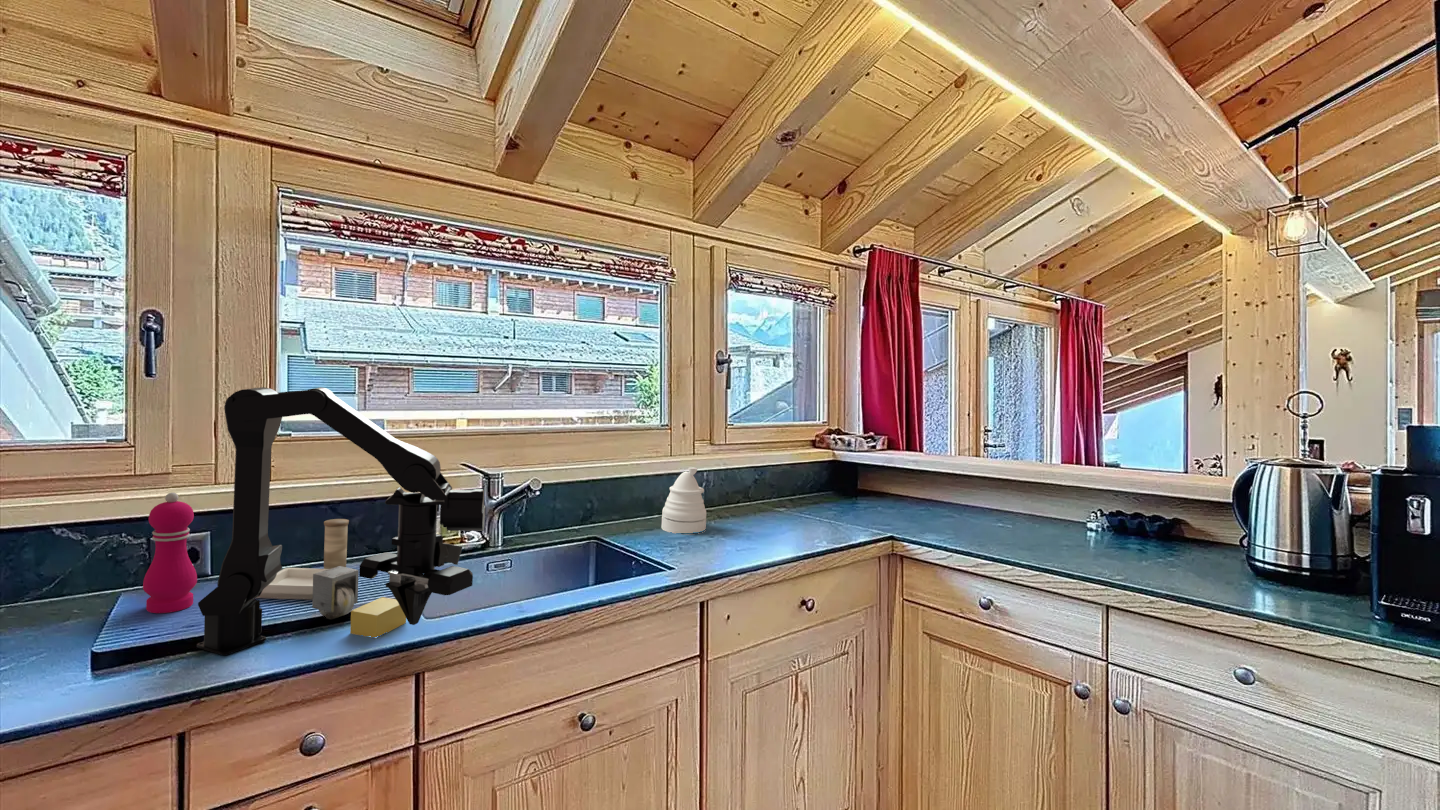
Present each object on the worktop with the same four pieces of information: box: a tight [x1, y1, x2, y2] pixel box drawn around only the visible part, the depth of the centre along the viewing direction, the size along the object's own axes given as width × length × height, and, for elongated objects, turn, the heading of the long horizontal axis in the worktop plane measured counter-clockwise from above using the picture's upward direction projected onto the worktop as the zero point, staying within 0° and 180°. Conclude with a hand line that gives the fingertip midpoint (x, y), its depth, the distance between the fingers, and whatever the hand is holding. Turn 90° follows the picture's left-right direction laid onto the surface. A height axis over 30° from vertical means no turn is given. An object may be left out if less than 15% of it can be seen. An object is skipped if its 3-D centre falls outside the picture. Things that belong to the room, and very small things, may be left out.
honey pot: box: [661, 466, 707, 534], centre depth 193 cm, size 13×13×18 cm
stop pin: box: [323, 518, 350, 569], centre depth 136 cm, size 4×4×11 cm
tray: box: [255, 567, 328, 600], centre depth 127 cm, size 10×12×2 cm
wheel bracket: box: [311, 566, 359, 620], centre depth 116 cm, size 5×6×8 cm
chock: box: [349, 596, 407, 638], centre depth 112 cm, size 7×5×4 cm
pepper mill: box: [142, 492, 198, 614], centre depth 115 cm, size 7×7×20 cm
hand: (413, 623), depth 110 cm, fingers closed
